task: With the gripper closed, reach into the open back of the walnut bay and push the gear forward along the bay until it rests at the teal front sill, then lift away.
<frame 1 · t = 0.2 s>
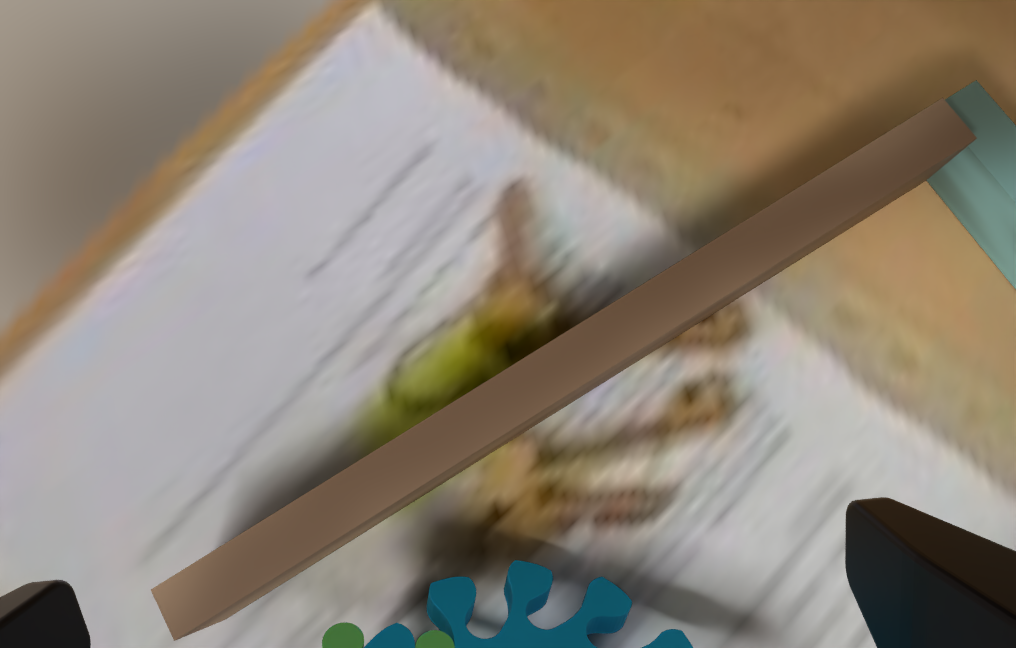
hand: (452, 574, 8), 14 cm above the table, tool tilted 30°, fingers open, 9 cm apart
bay: (704, 581, 22), on the table
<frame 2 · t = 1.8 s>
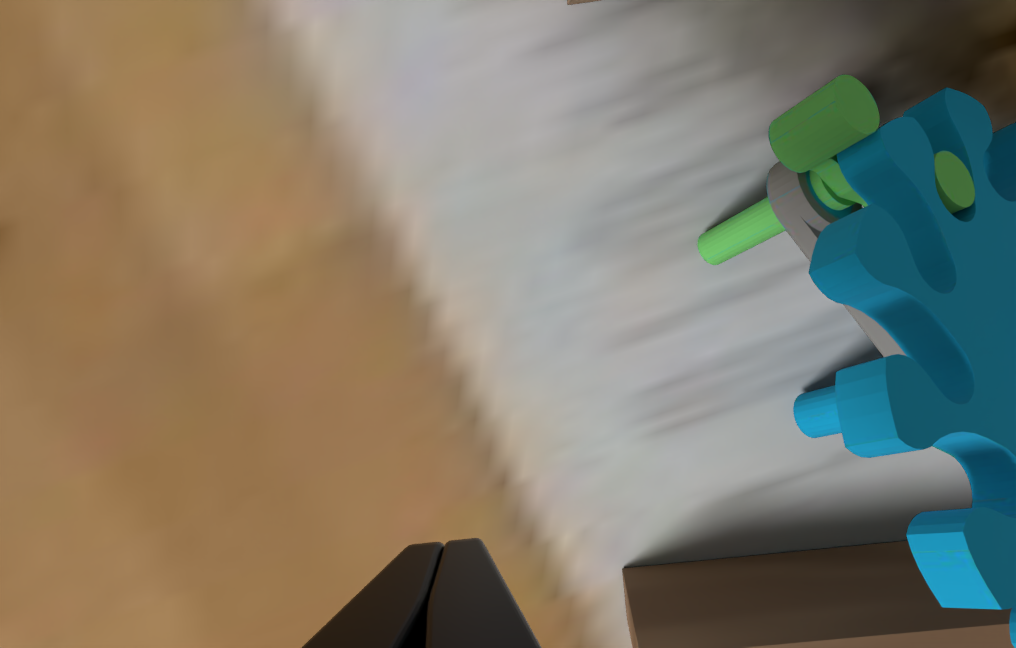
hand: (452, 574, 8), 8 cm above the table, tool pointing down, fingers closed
gear: (904, 283, 16), on the table
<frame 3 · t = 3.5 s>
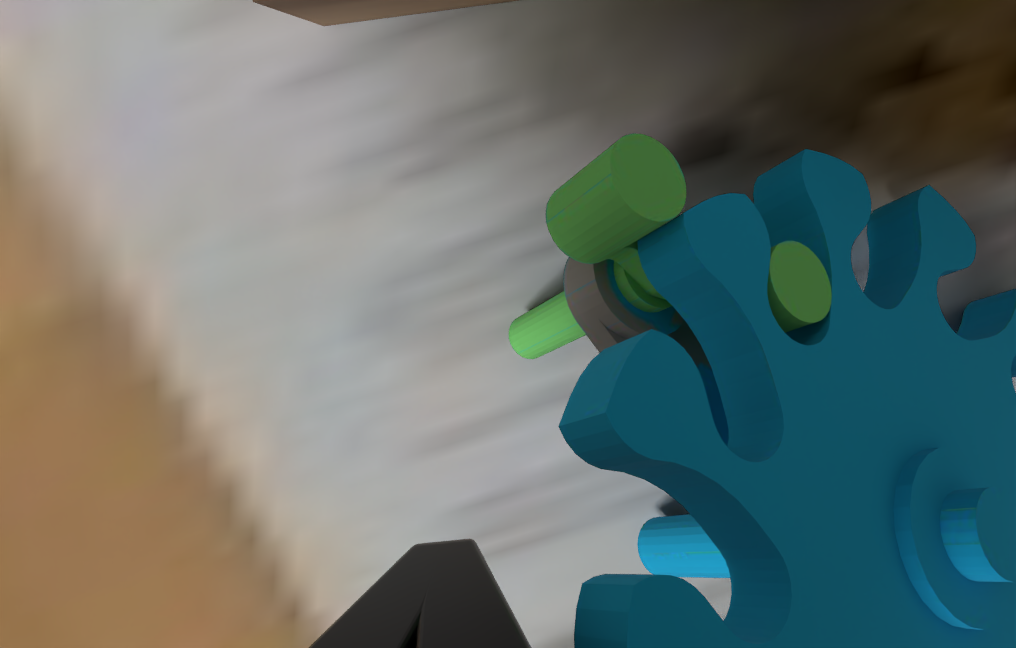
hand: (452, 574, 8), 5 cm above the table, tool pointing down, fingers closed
gear: (781, 386, 13), on the table, touching gripper
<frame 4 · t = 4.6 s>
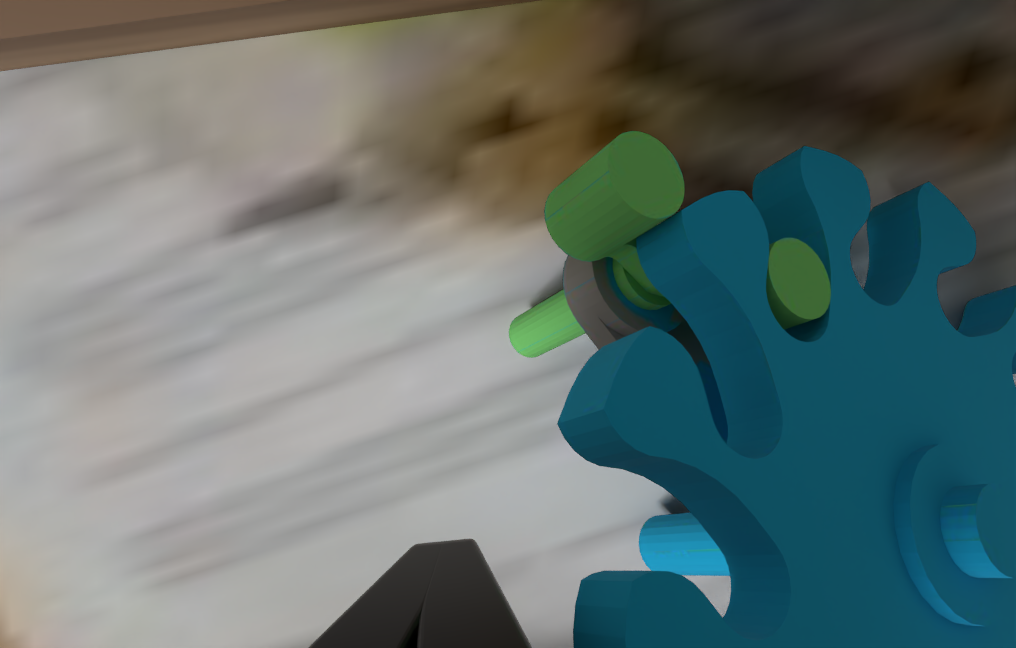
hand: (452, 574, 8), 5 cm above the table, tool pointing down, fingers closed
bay: (787, 383, 13), on the table
gear: (782, 383, 13), on the table, touching gripper
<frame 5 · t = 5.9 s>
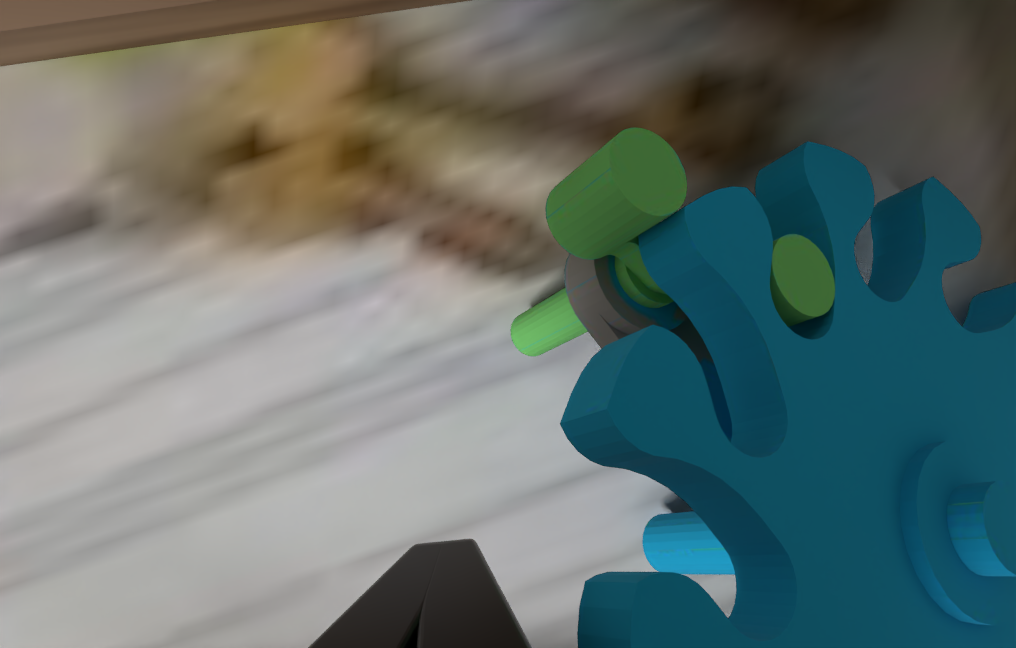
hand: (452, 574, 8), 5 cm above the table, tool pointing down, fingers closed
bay: (553, 402, 13), on the table
gear: (786, 381, 13), on the table, touching gripper
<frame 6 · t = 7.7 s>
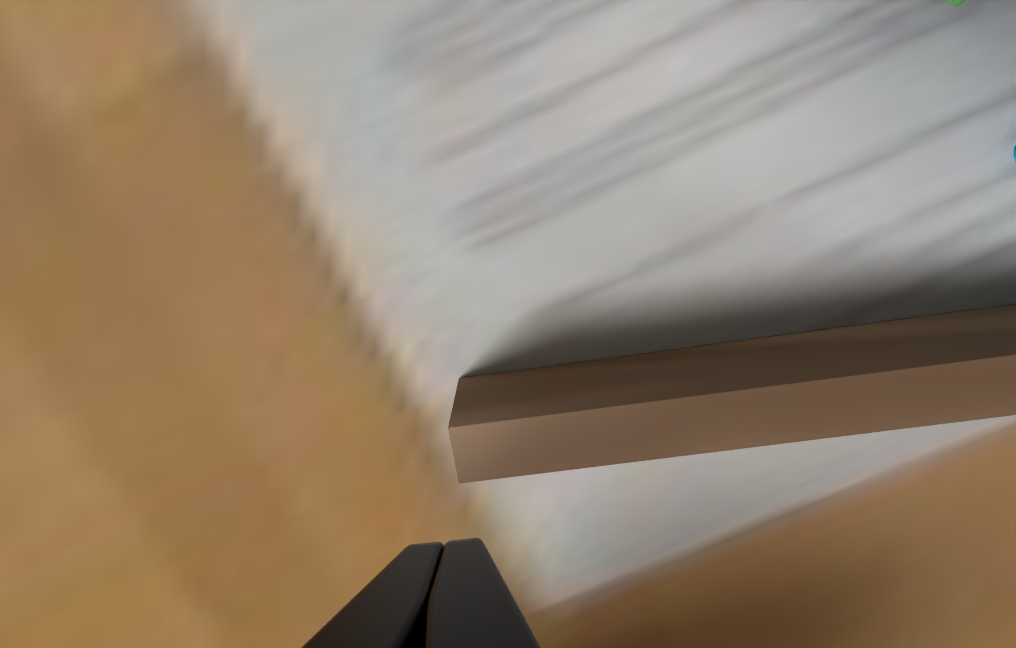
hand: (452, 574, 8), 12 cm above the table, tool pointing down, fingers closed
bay: (957, 51, 17), on the table
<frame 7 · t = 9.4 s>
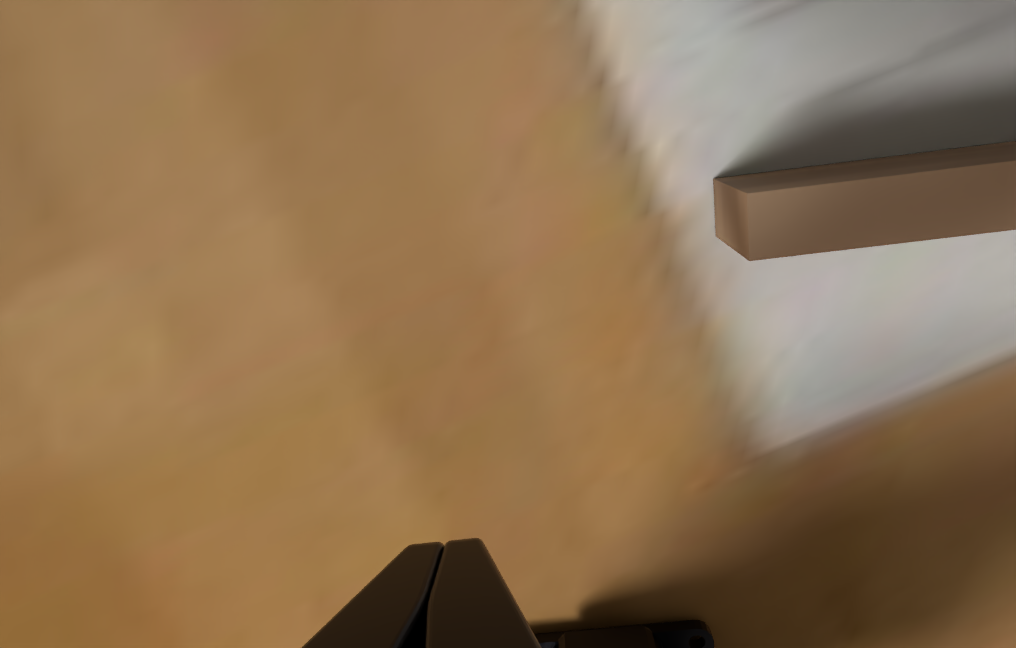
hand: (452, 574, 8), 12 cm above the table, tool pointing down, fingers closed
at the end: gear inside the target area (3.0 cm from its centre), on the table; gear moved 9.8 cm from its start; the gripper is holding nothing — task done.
